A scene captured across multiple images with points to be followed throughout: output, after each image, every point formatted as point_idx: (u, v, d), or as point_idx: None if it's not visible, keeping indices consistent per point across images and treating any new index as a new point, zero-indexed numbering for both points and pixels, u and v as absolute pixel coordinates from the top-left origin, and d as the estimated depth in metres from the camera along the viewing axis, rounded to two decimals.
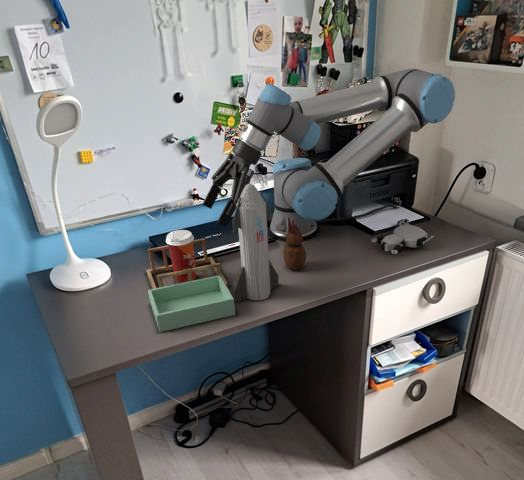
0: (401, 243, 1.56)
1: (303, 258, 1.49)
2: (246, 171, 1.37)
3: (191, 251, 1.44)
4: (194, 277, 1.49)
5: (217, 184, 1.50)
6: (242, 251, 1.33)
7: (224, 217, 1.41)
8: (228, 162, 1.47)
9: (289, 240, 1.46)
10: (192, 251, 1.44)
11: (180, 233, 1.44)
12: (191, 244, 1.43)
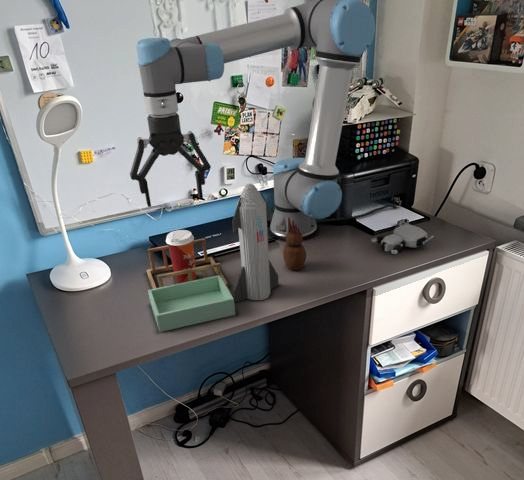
0: (401, 243, 1.56)
1: (303, 258, 1.49)
2: (194, 136, 1.29)
3: (191, 251, 1.44)
4: (194, 277, 1.49)
5: None
6: (242, 251, 1.33)
7: None
8: (143, 149, 1.27)
9: (289, 240, 1.46)
10: (192, 251, 1.44)
11: (180, 233, 1.44)
12: (191, 244, 1.43)
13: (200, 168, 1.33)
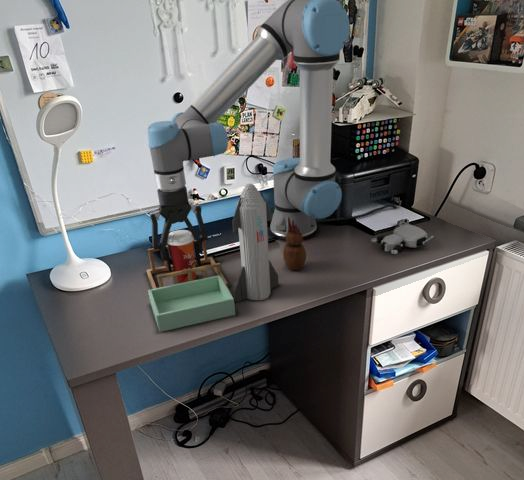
0: (401, 243, 1.56)
1: (303, 258, 1.49)
2: (200, 209, 1.40)
3: (191, 251, 1.44)
4: (194, 277, 1.49)
5: None
6: (242, 251, 1.33)
7: None
8: None
9: (289, 240, 1.46)
10: (192, 251, 1.44)
11: (180, 233, 1.44)
12: (191, 244, 1.43)
13: (198, 239, 1.44)
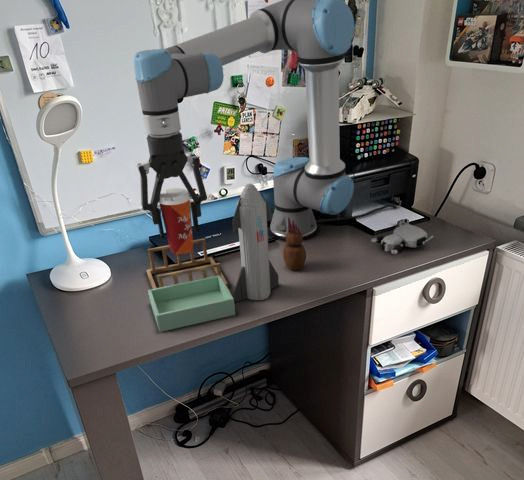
0: (401, 243, 1.56)
1: (303, 258, 1.49)
2: None
3: (187, 213, 1.21)
4: (191, 245, 1.27)
5: None
6: (242, 251, 1.33)
7: None
8: (146, 175, 1.16)
9: (289, 240, 1.46)
10: (189, 213, 1.22)
11: (174, 191, 1.21)
12: (188, 204, 1.21)
13: (196, 199, 1.22)
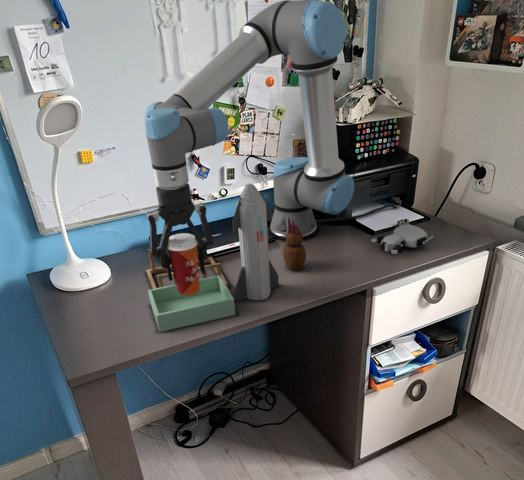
0: (401, 243, 1.56)
1: (303, 258, 1.49)
2: (205, 210, 1.23)
3: (194, 257, 1.27)
4: (197, 286, 1.32)
5: None
6: (242, 251, 1.33)
7: (203, 264, 1.31)
8: (155, 224, 1.21)
9: (289, 240, 1.46)
10: (195, 257, 1.27)
11: (182, 236, 1.27)
12: (195, 249, 1.26)
13: (203, 244, 1.27)
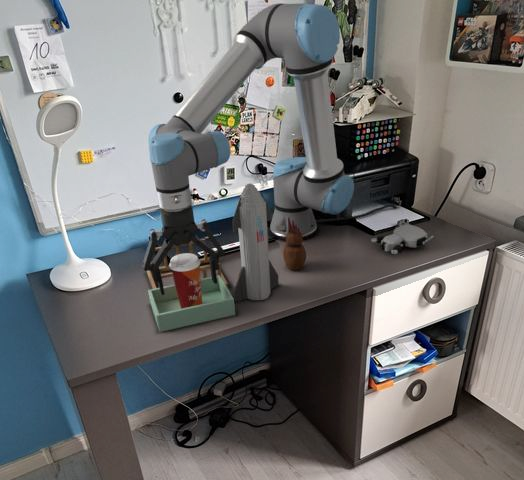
0: (401, 243, 1.56)
1: (303, 258, 1.49)
2: None
3: (197, 277, 1.30)
4: (200, 304, 1.35)
5: None
6: (242, 251, 1.33)
7: None
8: None
9: (289, 240, 1.46)
10: (198, 277, 1.31)
11: (185, 256, 1.30)
12: (197, 269, 1.29)
13: (214, 255, 1.30)
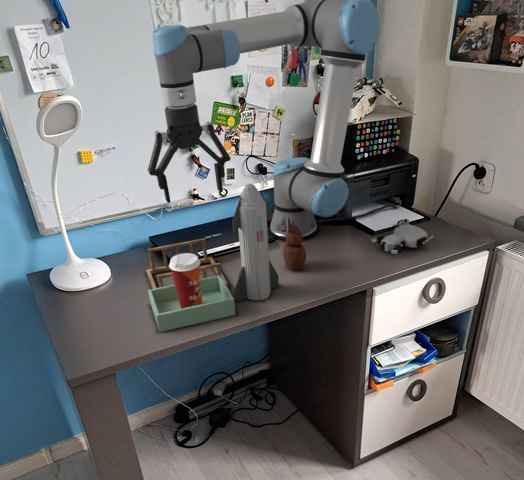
0: (401, 243, 1.56)
1: (303, 258, 1.49)
2: None
3: (197, 277, 1.30)
4: (200, 304, 1.35)
5: None
6: (242, 251, 1.33)
7: None
8: None
9: (289, 240, 1.46)
10: (198, 277, 1.31)
11: (185, 256, 1.30)
12: (197, 269, 1.29)
13: (220, 160, 1.29)
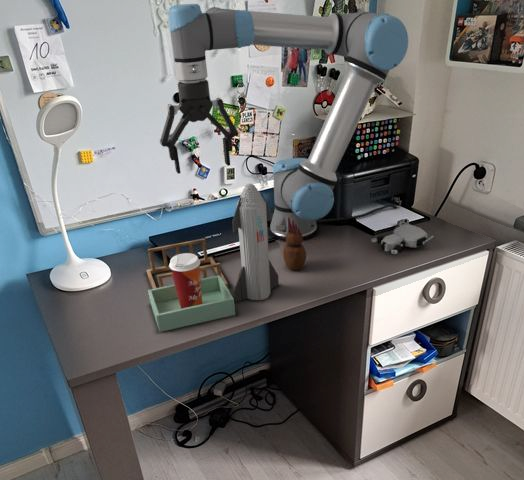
0: (401, 243, 1.56)
1: (303, 258, 1.49)
2: (222, 102, 1.32)
3: (197, 277, 1.30)
4: (200, 304, 1.35)
5: None
6: (242, 251, 1.33)
7: None
8: None
9: (289, 240, 1.46)
10: (198, 277, 1.31)
11: (185, 256, 1.30)
12: (197, 269, 1.29)
13: (228, 134, 1.37)
